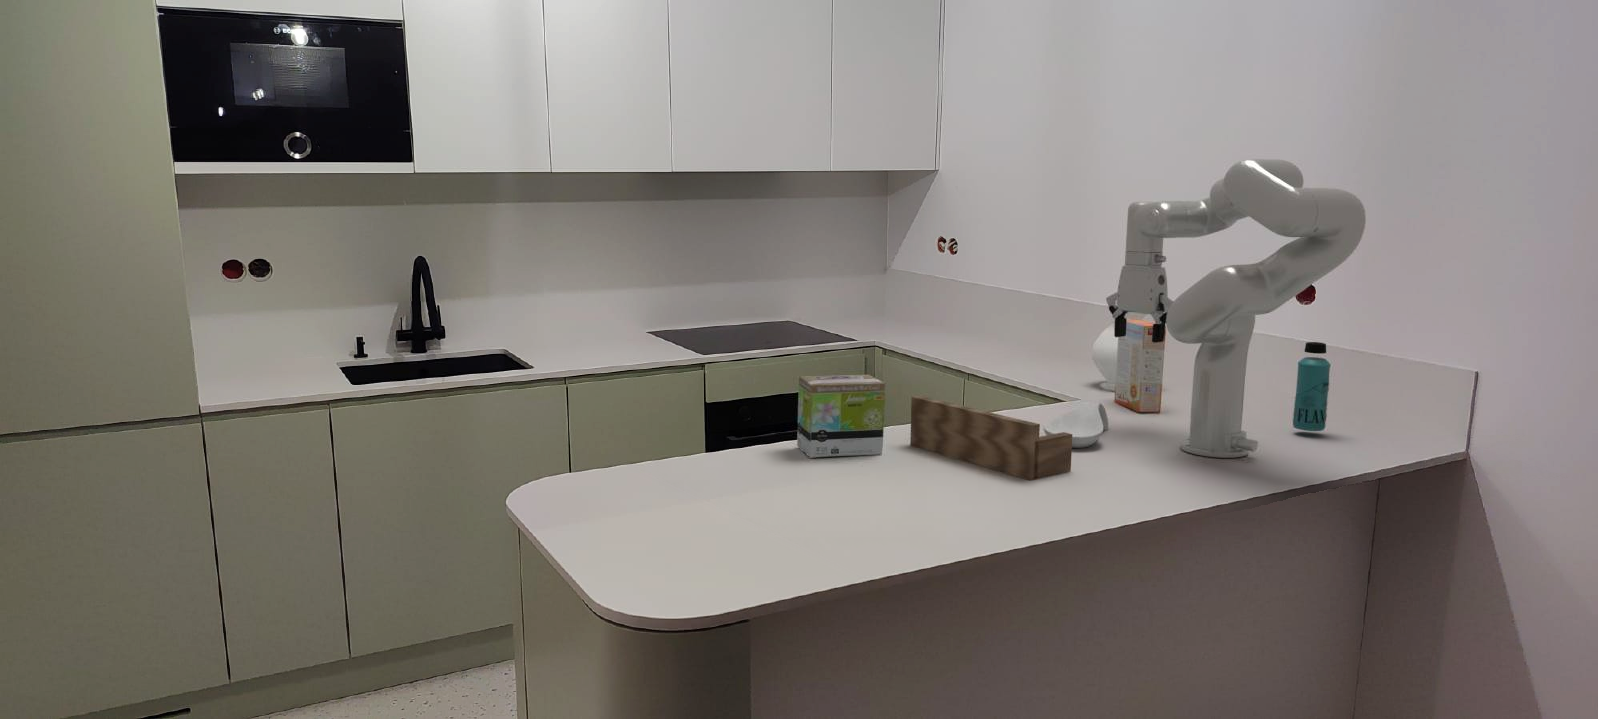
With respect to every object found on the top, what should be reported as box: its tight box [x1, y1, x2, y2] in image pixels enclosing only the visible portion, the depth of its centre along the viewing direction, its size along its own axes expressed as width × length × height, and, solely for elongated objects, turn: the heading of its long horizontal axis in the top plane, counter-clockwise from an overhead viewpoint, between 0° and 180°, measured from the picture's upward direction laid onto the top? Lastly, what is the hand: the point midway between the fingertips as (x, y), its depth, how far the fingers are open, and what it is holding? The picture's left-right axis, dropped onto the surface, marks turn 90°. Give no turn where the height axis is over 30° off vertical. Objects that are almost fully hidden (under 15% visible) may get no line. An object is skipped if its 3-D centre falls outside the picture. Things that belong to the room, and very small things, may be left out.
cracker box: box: [1114, 319, 1167, 414], centre depth 248 cm, size 14×6×21 cm, turn 6°
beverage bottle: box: [1292, 341, 1331, 432], centre depth 220 cm, size 6×7×20 cm
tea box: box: [796, 374, 886, 459], centre depth 204 cm, size 15×10×15 cm, turn 105°
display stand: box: [909, 395, 1073, 481], centre depth 200 cm, size 32×11×10 cm, turn 35°
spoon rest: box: [1043, 401, 1110, 449], centre depth 216 cm, size 24×12×7 cm, turn 148°
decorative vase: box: [1091, 300, 1147, 392], centre depth 273 cm, size 18×18×25 cm
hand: (1138, 339), depth 224 cm, fingers open, 9 cm apart
